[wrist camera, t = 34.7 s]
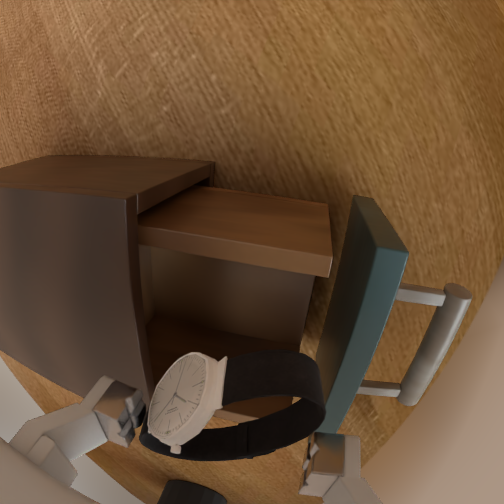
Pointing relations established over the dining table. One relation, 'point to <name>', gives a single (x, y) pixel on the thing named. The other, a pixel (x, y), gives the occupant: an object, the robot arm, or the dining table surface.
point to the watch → (229, 391)
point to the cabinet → (81, 264)
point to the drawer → (282, 292)
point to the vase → (189, 494)
